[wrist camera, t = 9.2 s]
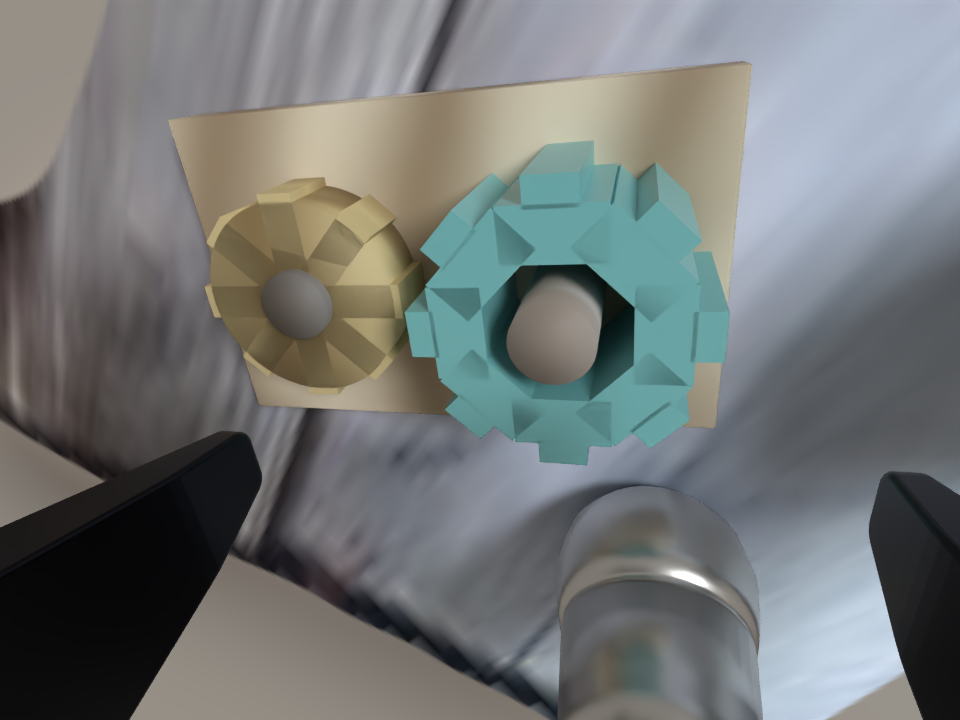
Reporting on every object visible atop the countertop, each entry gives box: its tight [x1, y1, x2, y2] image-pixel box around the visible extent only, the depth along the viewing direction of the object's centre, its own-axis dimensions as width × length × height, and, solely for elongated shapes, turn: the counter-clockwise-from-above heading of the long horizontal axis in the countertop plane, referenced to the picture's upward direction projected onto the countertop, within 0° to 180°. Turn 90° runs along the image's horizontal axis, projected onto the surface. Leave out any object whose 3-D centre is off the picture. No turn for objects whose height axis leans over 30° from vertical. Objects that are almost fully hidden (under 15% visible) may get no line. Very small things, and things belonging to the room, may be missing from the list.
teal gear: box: [405, 140, 730, 465], centre depth 15 cm, size 7×7×4 cm
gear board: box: [168, 61, 752, 428], centre depth 17 cm, size 16×10×6 cm, turn 96°
